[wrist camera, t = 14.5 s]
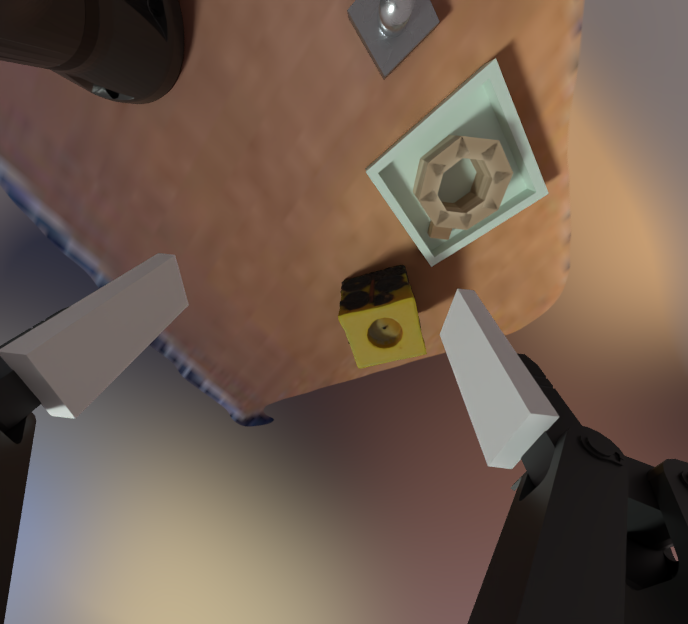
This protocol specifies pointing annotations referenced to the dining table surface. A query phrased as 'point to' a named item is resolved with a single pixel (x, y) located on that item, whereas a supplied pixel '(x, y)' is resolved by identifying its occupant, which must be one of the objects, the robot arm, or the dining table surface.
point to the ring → (484, 190)
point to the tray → (461, 120)
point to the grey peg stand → (392, 28)
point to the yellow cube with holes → (381, 317)
